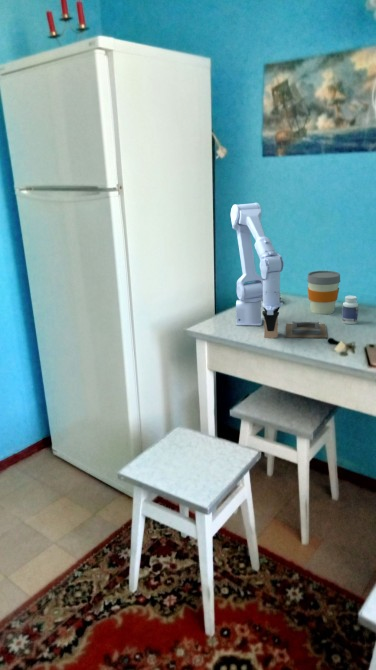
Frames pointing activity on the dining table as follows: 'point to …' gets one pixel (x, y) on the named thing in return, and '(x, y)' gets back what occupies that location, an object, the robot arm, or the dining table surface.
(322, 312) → the reusable coffee cup
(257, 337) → the dining table surface
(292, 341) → the dining table surface
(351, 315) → the pill bottle
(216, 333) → the dining table surface
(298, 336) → the socket board
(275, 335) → the beige upright block
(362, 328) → the dining table surface
